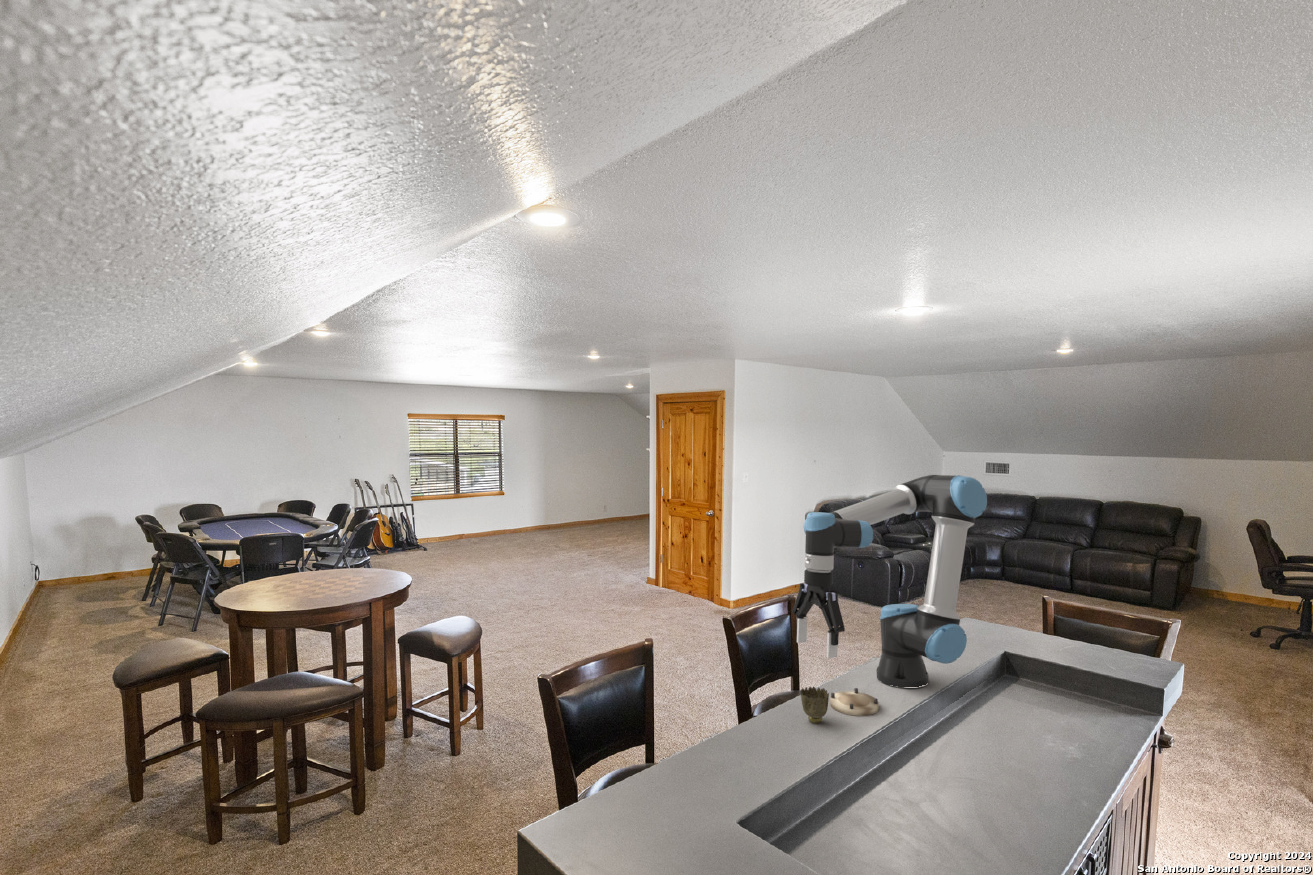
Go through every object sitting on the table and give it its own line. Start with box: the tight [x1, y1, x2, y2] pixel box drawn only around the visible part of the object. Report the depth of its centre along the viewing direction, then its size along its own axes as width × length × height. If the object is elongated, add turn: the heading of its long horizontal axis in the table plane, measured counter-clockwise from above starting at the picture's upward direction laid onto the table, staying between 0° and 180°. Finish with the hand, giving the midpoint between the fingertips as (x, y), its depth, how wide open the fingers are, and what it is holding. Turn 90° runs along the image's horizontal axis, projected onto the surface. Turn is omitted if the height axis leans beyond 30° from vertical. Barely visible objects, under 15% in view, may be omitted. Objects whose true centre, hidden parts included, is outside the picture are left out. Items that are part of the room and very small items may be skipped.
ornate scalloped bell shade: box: [799, 686, 830, 725], centre depth 168 cm, size 8×7×8 cm
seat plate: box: [829, 687, 879, 717], centre depth 177 cm, size 13×13×3 cm
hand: (816, 649), depth 169 cm, fingers open, 13 cm apart
